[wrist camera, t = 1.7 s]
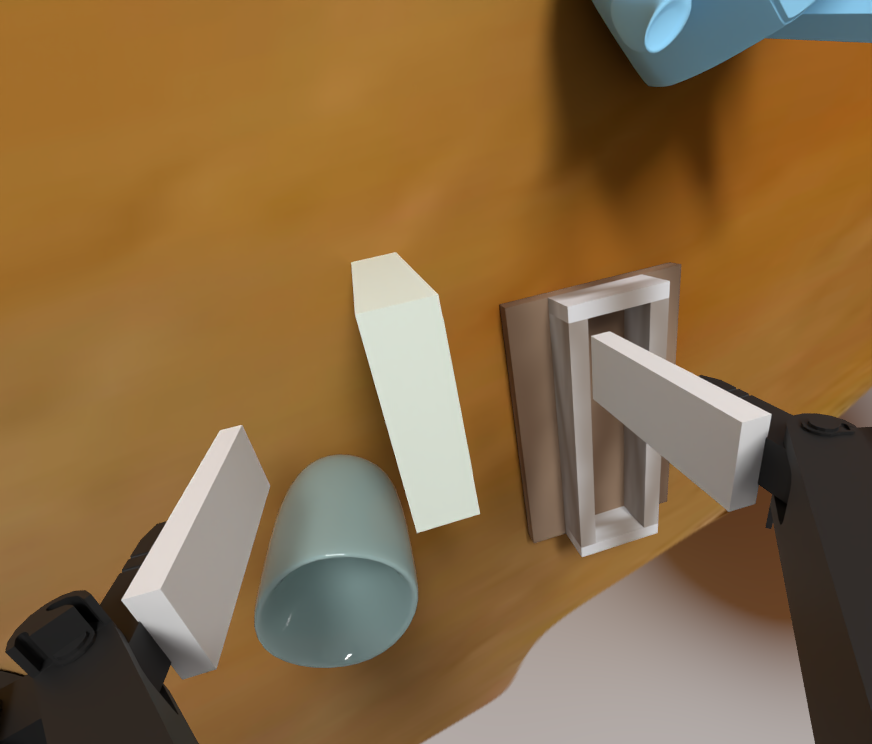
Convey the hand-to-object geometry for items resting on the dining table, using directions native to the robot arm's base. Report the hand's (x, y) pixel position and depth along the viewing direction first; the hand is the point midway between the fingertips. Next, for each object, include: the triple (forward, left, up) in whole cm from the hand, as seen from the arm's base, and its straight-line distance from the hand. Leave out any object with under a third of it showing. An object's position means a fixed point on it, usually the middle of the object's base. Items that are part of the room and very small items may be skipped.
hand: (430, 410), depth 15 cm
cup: (-6, -10, -11) cm, 16 cm away
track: (+13, -10, -11) cm, 19 cm away
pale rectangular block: (0, 0, -11) cm, 11 cm away
